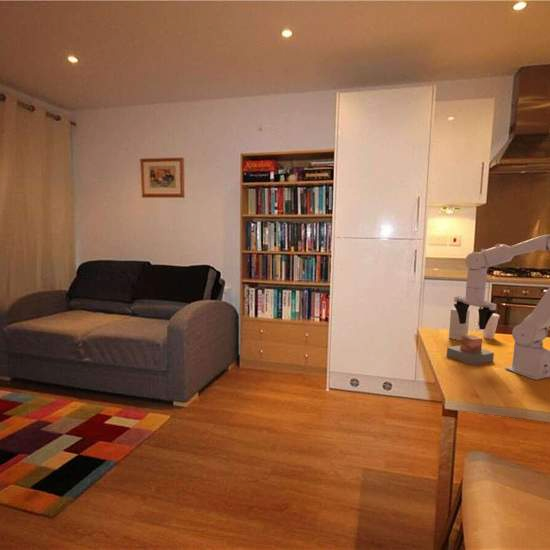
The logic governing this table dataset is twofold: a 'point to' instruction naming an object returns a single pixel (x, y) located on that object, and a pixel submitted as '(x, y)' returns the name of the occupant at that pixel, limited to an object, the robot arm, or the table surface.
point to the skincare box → (457, 325)
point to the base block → (470, 355)
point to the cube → (471, 343)
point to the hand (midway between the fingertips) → (472, 326)
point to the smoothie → (491, 327)
